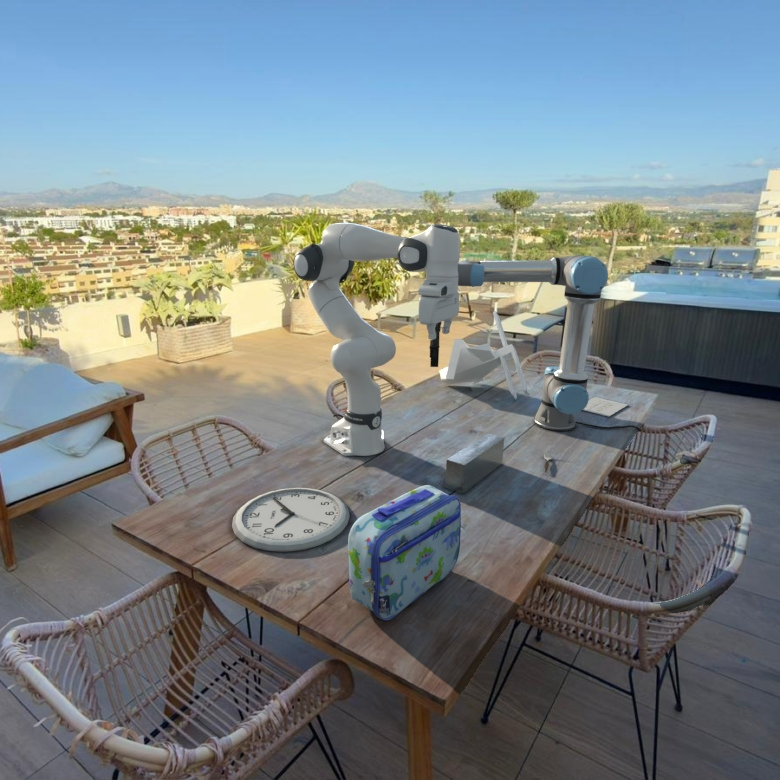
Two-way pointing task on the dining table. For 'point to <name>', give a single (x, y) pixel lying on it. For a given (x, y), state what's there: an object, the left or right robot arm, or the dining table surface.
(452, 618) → the dining table surface
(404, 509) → the lunch box
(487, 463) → the bar
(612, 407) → the invitation card
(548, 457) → the fork
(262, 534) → the wall clock
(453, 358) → the white plastic object
